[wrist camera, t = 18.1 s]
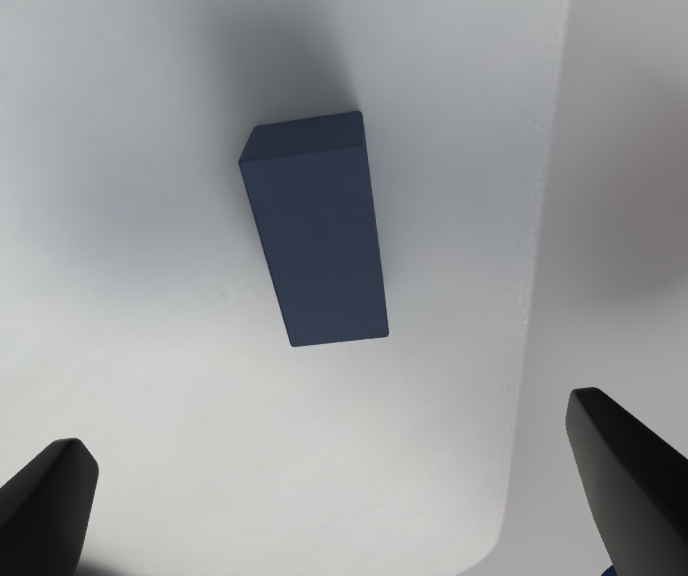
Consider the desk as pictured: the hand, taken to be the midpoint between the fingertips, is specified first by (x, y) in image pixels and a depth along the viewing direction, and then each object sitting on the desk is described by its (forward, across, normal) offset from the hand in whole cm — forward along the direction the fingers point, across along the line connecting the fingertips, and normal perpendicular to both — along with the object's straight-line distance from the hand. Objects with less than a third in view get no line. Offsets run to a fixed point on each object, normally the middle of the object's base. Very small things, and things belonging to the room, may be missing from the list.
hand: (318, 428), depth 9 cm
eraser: (+8, 0, 0) cm, 8 cm away
